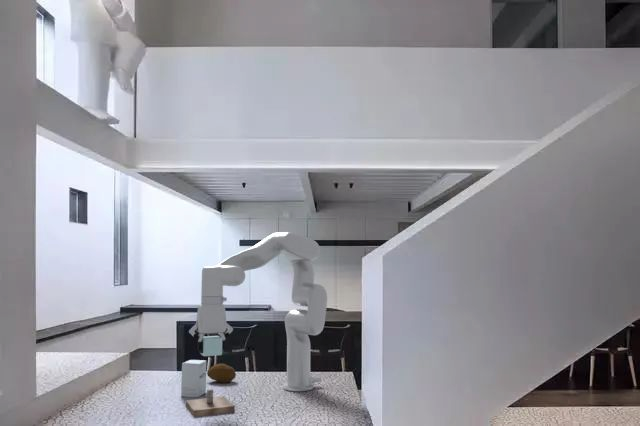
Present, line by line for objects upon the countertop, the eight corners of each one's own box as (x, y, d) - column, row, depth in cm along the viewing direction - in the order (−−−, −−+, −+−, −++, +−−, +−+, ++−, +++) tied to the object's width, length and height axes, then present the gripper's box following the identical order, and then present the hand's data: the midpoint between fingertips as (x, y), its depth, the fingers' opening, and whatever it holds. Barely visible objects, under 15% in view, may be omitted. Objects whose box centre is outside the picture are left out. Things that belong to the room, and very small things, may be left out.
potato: (234, 384, 230) (234, 365, 230) (204, 384, 229) (205, 365, 230) (237, 380, 238) (237, 361, 238) (208, 380, 238) (208, 361, 238)
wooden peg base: (224, 401, 203) (224, 383, 203) (234, 411, 190) (234, 392, 190) (185, 406, 197) (186, 387, 197) (193, 416, 184) (194, 396, 185)
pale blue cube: (217, 352, 199) (217, 335, 200) (222, 355, 193) (222, 338, 194) (199, 353, 196) (200, 336, 197) (203, 356, 191) (204, 339, 191)
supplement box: (198, 397, 209) (199, 363, 209) (180, 396, 210) (181, 362, 211) (206, 392, 216) (207, 360, 217) (188, 391, 217) (189, 359, 218)
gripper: (232, 299, 203) (231, 348, 202) (185, 300, 196) (184, 352, 195) (238, 301, 196) (237, 352, 195) (189, 302, 189) (188, 355, 188)
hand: (210, 351), depth 195 cm, fingers closed on pale blue cube, 6 cm apart
